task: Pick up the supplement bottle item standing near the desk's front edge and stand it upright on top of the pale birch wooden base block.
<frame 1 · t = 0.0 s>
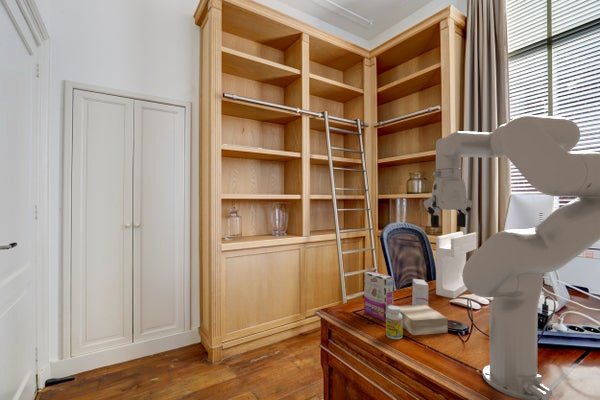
hand: (448, 227, 95), 37 cm above the table, tool pointing down, fingers open, 9 cm apart
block: (457, 289, 148), on the table
base block: (419, 325, 104), on the table
ink box: (420, 310, 119), on the table
candy bar box: (378, 316, 113), on the table
supplement bottle: (394, 336, 96), on the table
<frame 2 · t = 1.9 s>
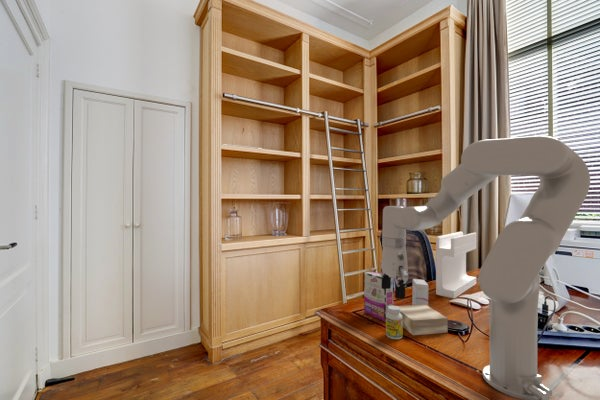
hand: (392, 293, 97), 14 cm above the table, tool pointing down, fingers open, 9 cm apart
nothing on the table moved.
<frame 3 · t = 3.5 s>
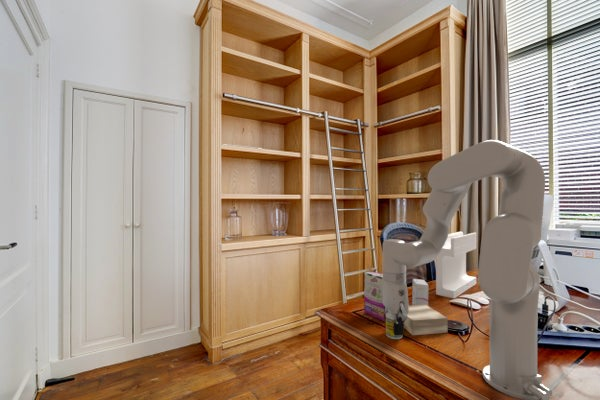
hand: (394, 330, 96), 2 cm above the table, tool pointing down, fingers closed on supplement bottle, 5 cm apart
supplement bottle: (394, 336, 96), on the table, touching gripper
everything else where it was.
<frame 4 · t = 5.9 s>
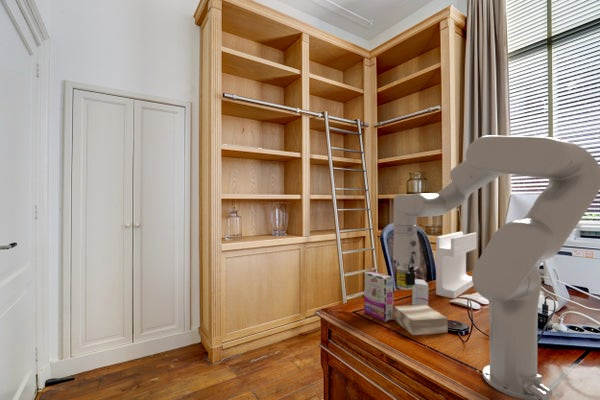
hand: (405, 281, 99), 17 cm above the table, tool pointing down, fingers closed on supplement bottle, 5 cm apart
supplement bottle: (405, 288, 99), point 15 cm above the table, touching gripper
everything else where it was.
when the fingers open (8 cm above the table, at t = 8.5 s): supplement bottle drops 1 cm, resting on base block.
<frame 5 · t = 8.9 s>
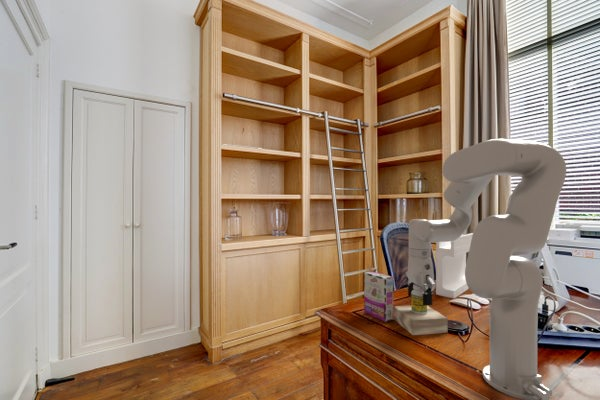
hand: (419, 300, 104), 9 cm above the table, tool pointing down, fingers open, 9 cm apart
supplement bottle: (419, 312, 104), point 5 cm above the table, touching base block
everything else where it was.
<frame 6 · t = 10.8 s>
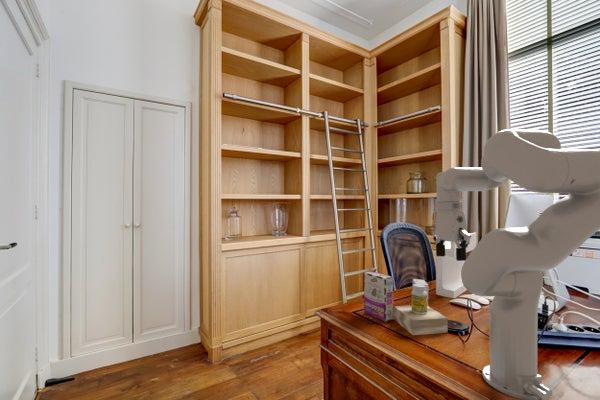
hand: (450, 258, 97), 26 cm above the table, tool pointing down, fingers open, 9 cm apart
nothing on the table moved.
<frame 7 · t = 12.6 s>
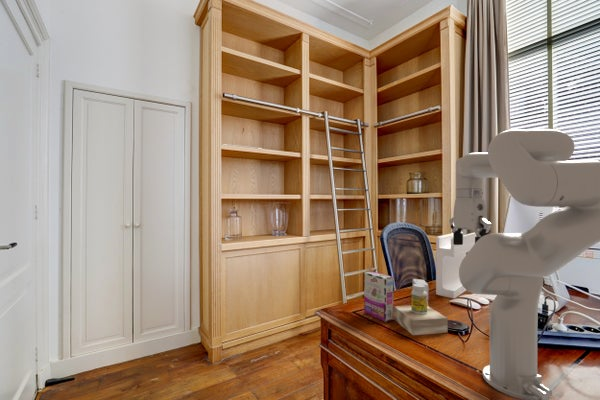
hand: (468, 247, 94), 30 cm above the table, tool pointing down, fingers open, 9 cm apart
nothing on the table moved.
at the end: supplement bottle inside the target area on the base block (0.1 cm from its centre), point 4.8 cm above the base block's base; supplement bottle tilted 0°; the gripper is holding nothing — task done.
